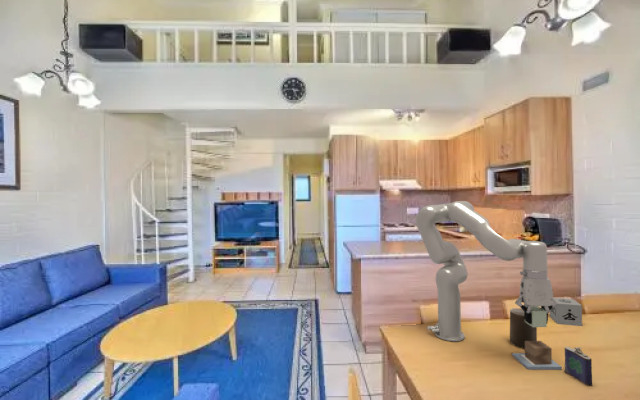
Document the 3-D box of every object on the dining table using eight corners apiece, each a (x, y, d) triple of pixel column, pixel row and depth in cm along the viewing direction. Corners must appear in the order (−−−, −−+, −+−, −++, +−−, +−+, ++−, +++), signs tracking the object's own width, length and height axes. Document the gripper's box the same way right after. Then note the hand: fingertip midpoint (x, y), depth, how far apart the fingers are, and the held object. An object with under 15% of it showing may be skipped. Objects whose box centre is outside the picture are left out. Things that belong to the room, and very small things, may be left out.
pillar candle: (528, 351, 129) (528, 314, 129) (504, 341, 138) (504, 307, 137) (541, 346, 133) (542, 310, 133) (518, 337, 142) (518, 303, 142)
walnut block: (535, 364, 117) (534, 348, 117) (524, 356, 123) (524, 340, 123) (551, 364, 117) (551, 348, 117) (540, 356, 123) (540, 340, 123)
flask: (562, 371, 114) (562, 341, 114) (570, 370, 115) (569, 341, 115) (587, 386, 105) (587, 354, 105) (595, 385, 106) (595, 353, 105)
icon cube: (549, 316, 165) (549, 297, 165) (572, 318, 162) (572, 298, 161) (557, 324, 155) (557, 303, 155) (582, 326, 152) (581, 305, 152)
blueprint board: (527, 369, 116) (527, 366, 116) (512, 355, 126) (512, 352, 126) (561, 369, 115) (561, 366, 115) (543, 355, 125) (543, 353, 125)
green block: (532, 327, 118) (532, 311, 118) (524, 321, 123) (524, 306, 123) (546, 327, 118) (546, 311, 118) (537, 321, 123) (537, 306, 123)
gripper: (517, 277, 117) (518, 326, 117) (565, 276, 116) (566, 326, 116) (506, 272, 124) (507, 318, 124) (551, 271, 124) (552, 318, 124)
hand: (536, 321), depth 120 cm, fingers closed on green block, 5 cm apart
